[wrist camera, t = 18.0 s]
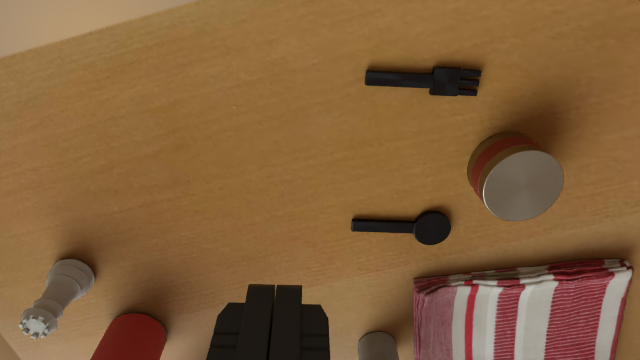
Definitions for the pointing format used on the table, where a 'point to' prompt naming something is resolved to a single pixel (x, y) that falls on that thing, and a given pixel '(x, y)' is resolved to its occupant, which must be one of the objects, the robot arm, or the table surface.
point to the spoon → (410, 227)
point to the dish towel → (523, 312)
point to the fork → (428, 80)
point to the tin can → (515, 176)
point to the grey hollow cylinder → (377, 347)
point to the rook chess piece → (57, 296)
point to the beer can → (132, 339)
